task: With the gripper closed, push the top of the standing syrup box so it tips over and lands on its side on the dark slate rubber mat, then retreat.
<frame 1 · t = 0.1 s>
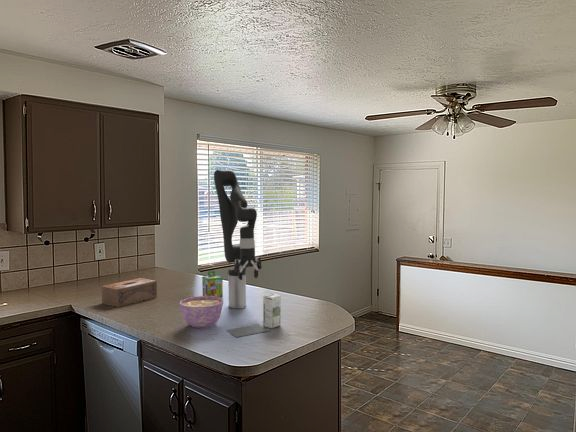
hand: (248, 278, 231), 17 cm above the worktop, tool pointing down, fingers open, 8 cm apart
syrup box: (272, 326, 209), on the worktop
green juice carton: (212, 296, 266), on the worktop
mat: (247, 330, 202), on the worktop
bowl of food: (202, 326, 210), on the worktop
tissue box cover: (130, 301, 258), on the worktop
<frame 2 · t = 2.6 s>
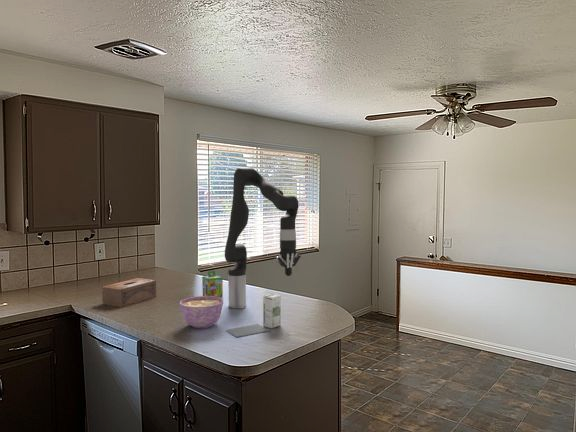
hand: (288, 275, 212), 23 cm above the worktop, tool pointing down, fingers closed
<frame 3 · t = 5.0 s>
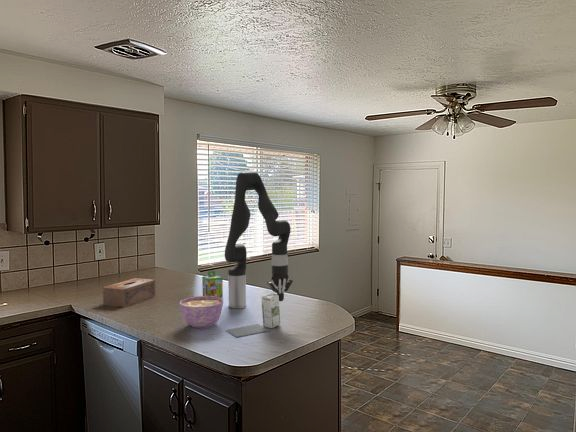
hand: (280, 300, 210), 11 cm above the worktop, tool pointing down, fingers closed
syrup box: (272, 326, 209), on the worktop, touching gripper
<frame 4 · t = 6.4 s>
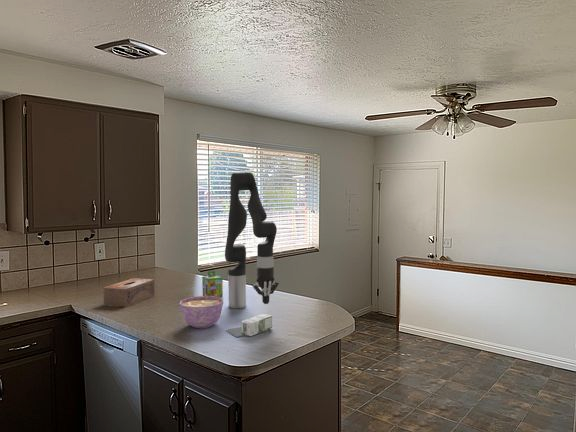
hand: (265, 303, 206), 11 cm above the worktop, tool pointing down, fingers closed
syrup box: (268, 320, 207), point 3 cm above the worktop, touching mat
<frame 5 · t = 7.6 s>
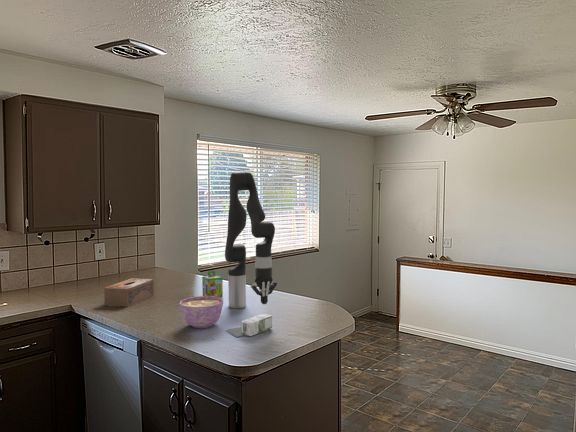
hand: (264, 303, 206), 11 cm above the worktop, tool pointing down, fingers closed
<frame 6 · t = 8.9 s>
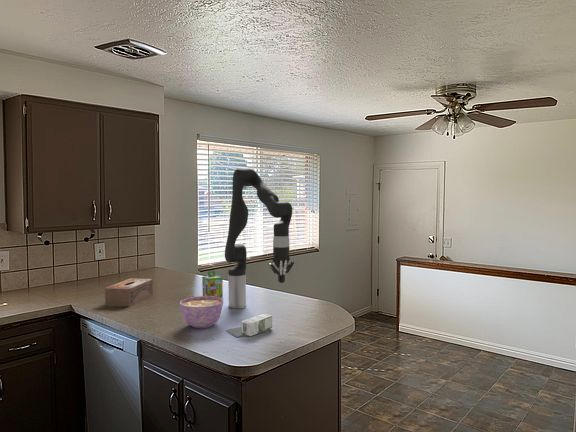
hand: (281, 282, 210), 20 cm above the worktop, tool pointing down, fingers closed
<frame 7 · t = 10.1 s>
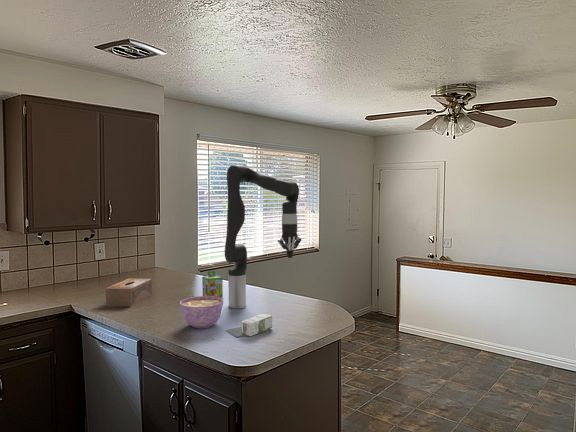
hand: (289, 257, 223), 29 cm above the worktop, tool pointing down, fingers closed
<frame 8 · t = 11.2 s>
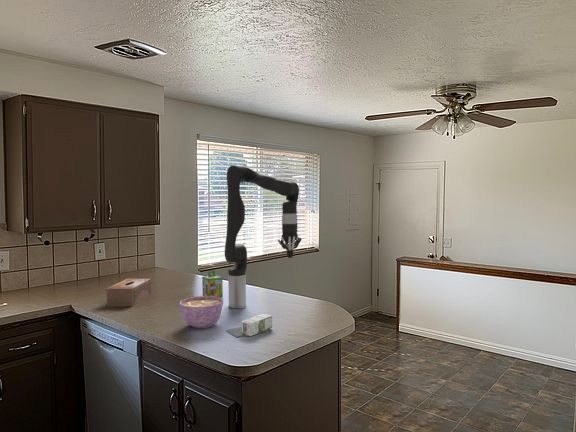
hand: (289, 257, 224), 29 cm above the worktop, tool pointing down, fingers closed
at the end: syrup box tilted 90°; syrup box inside the target area (8.5 cm from its centre), point 3.3 cm above the worktop; the gripper is holding nothing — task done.
